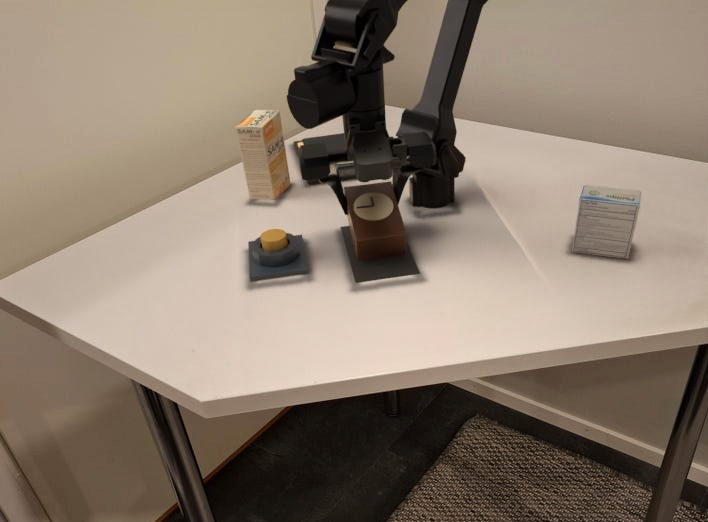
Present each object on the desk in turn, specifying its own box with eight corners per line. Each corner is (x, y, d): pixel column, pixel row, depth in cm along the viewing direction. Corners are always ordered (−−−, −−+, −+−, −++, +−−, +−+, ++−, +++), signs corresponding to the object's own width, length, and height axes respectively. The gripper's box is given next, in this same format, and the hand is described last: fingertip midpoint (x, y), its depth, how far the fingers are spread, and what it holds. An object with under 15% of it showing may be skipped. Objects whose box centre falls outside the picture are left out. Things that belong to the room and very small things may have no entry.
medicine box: (630, 245, 91) (642, 189, 86) (628, 261, 88) (641, 204, 83) (574, 238, 94) (583, 183, 88) (570, 253, 90) (579, 197, 85)
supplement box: (276, 205, 106) (262, 127, 97) (249, 203, 107) (233, 126, 98) (292, 184, 112) (280, 109, 103) (267, 182, 113) (253, 108, 104)
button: (262, 241, 90) (259, 230, 89) (287, 238, 91) (285, 227, 90) (262, 254, 88) (260, 242, 86) (288, 250, 88) (286, 239, 87)
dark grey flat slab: (397, 224, 99) (397, 219, 98) (420, 279, 87) (420, 273, 86) (340, 232, 98) (340, 226, 97) (356, 288, 86) (355, 282, 85)
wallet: (388, 164, 112) (303, 175, 110) (388, 174, 113) (304, 185, 111) (366, 126, 127) (291, 135, 125) (367, 135, 128) (293, 144, 126)
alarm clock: (391, 202, 95) (391, 179, 92) (405, 254, 89) (406, 232, 86) (345, 207, 94) (343, 185, 91) (357, 261, 88) (356, 239, 85)
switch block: (250, 251, 94) (245, 230, 92) (303, 244, 95) (300, 223, 93) (251, 287, 87) (246, 265, 85) (309, 279, 88) (305, 257, 86)
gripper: (296, 136, 76) (312, 247, 86) (447, 119, 78) (445, 230, 88) (290, 102, 84) (305, 208, 94) (427, 88, 86) (427, 193, 96)
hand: (370, 210), depth 93 cm, fingers closed on alarm clock, 7 cm apart
